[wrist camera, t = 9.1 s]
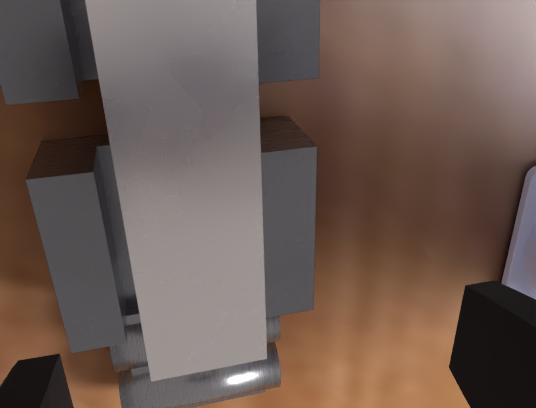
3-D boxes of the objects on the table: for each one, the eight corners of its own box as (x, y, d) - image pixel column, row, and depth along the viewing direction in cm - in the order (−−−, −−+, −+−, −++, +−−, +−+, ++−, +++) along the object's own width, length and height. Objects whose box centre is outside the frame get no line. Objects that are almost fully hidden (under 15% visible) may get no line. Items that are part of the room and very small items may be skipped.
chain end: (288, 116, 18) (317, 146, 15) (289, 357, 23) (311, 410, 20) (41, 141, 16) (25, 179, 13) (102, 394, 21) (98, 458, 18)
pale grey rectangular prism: (205, -112, 13) (251, -142, 8) (229, 250, 18) (267, 359, 14) (84, -111, 13) (60, -143, 8) (144, 263, 18) (150, 382, 13)
